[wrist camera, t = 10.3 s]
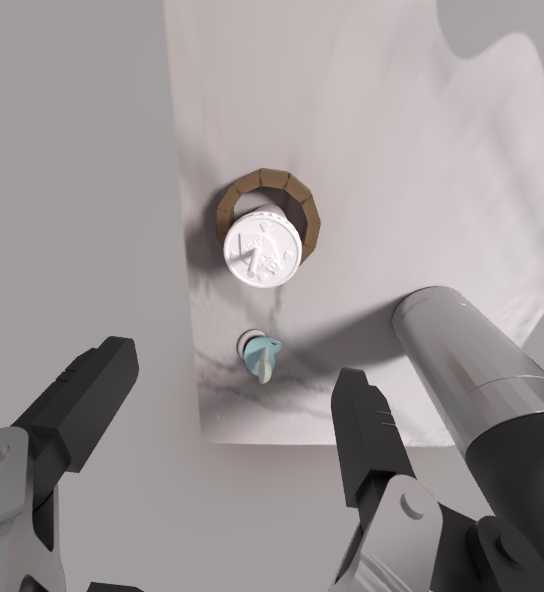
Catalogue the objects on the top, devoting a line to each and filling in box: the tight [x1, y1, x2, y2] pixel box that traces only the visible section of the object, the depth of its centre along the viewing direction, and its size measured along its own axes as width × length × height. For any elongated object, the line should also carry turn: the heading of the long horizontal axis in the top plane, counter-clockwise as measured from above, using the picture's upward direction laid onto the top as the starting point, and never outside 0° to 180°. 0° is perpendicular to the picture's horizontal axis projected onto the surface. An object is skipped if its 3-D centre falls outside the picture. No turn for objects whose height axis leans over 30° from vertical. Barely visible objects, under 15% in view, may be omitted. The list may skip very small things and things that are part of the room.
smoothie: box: [224, 204, 302, 288], centre depth 24 cm, size 6×6×14 cm
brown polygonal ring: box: [216, 168, 321, 266], centre depth 28 cm, size 10×10×3 cm
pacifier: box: [238, 330, 282, 384], centre depth 37 cm, size 7×6×6 cm
